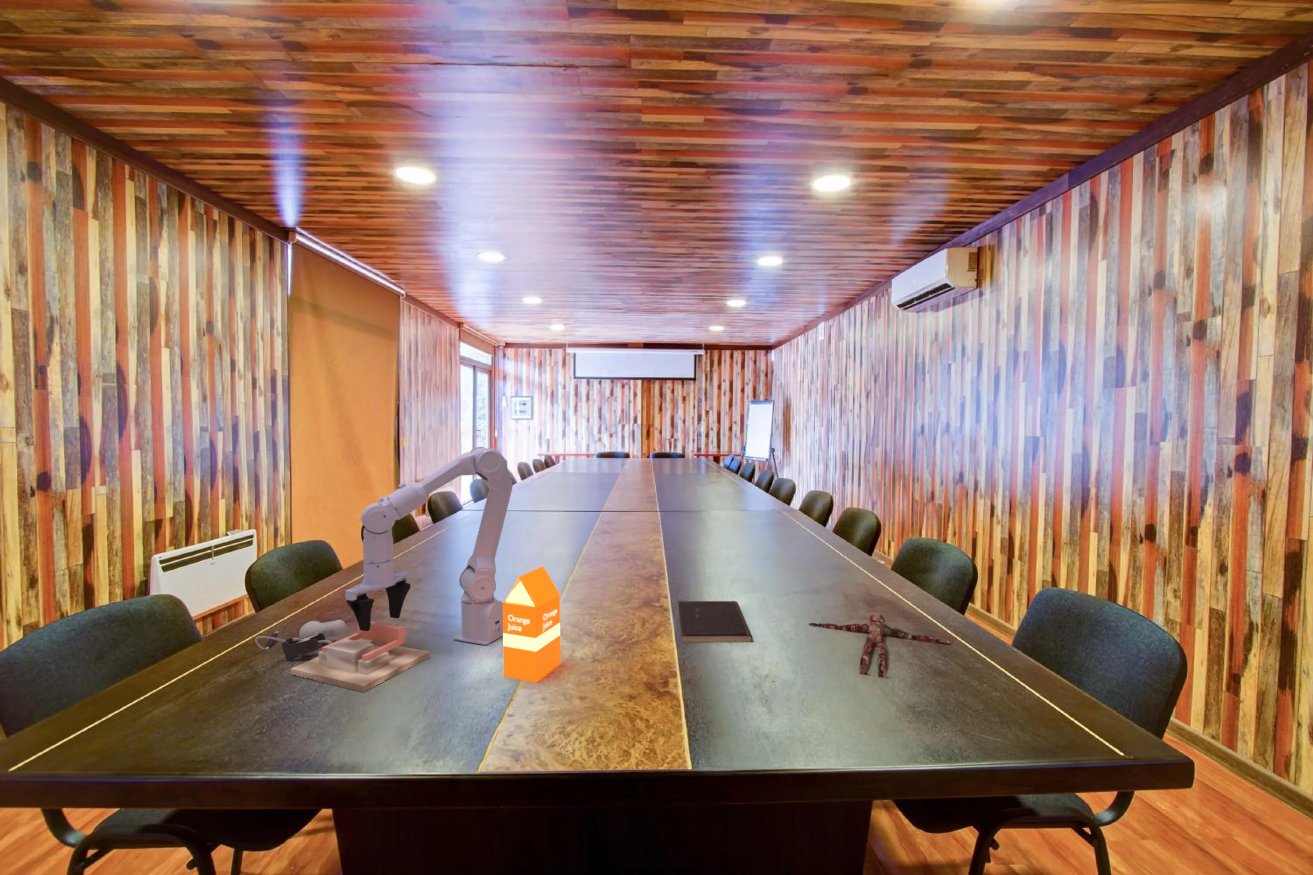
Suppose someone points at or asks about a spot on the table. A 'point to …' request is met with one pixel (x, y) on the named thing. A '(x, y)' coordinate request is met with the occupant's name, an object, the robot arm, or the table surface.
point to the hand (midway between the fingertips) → (380, 623)
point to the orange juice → (531, 627)
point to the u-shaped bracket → (378, 638)
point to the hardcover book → (713, 622)
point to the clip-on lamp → (307, 638)
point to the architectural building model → (358, 664)
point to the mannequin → (877, 640)
